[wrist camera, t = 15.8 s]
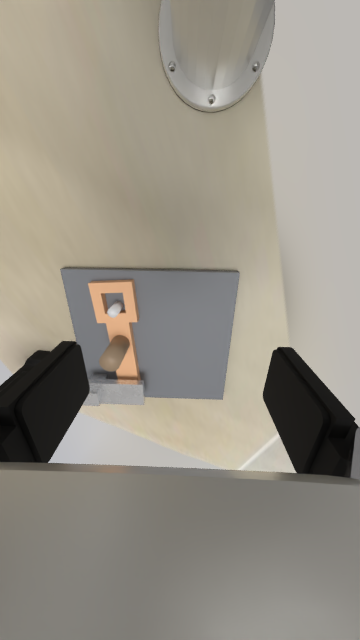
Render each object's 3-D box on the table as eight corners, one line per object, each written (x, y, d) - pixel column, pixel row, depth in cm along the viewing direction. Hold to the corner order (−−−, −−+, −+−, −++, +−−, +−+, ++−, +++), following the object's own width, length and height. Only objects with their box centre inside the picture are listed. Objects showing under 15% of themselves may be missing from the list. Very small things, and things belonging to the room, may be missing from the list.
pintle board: (65, 267, 34) (46, 273, 30) (237, 270, 34) (245, 277, 29) (91, 390, 46) (80, 408, 41) (221, 394, 45) (225, 413, 40)
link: (92, 281, 34) (67, 294, 27) (133, 279, 33) (120, 292, 26) (115, 382, 42) (101, 412, 36) (148, 382, 42) (140, 412, 35)
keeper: (95, 364, 43) (79, 388, 36) (147, 366, 42) (140, 390, 36) (99, 383, 45) (84, 409, 38) (148, 385, 44) (142, 411, 38)
